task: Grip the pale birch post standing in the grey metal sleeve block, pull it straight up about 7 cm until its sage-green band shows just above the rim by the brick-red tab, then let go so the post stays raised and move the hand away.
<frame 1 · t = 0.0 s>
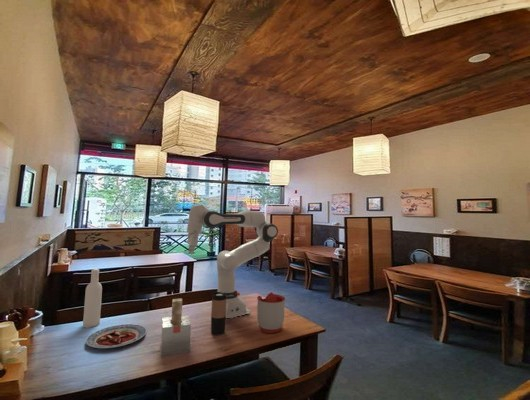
hand: (190, 252, 160), 39 cm above the table, tool pointing down, fingers open, 8 cm apart
sleeve block: (174, 347, 120), on the table
birch post: (176, 322, 121), point 11 cm above the table, slide at 0.0 cm
travel mug: (217, 332, 138), on the table
ceramic plate: (117, 339, 128), on the table
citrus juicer: (269, 329, 144), on the table
bottle: (91, 325, 143), on the table
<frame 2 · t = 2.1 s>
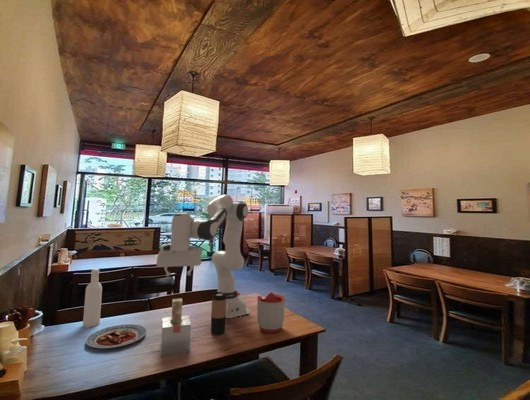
hand: (178, 275, 123), 33 cm above the table, tool pointing down, fingers open, 8 cm apart
nothing on the table moved.
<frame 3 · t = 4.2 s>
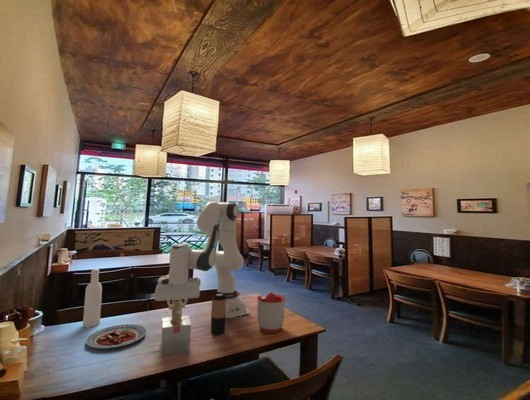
hand: (176, 308, 122), 18 cm above the table, tool pointing down, fingers closed on birch post, 4 cm apart
birch post: (176, 322, 121), point 12 cm above the table, slide at 0.0 cm, touching gripper
everything else where it was.
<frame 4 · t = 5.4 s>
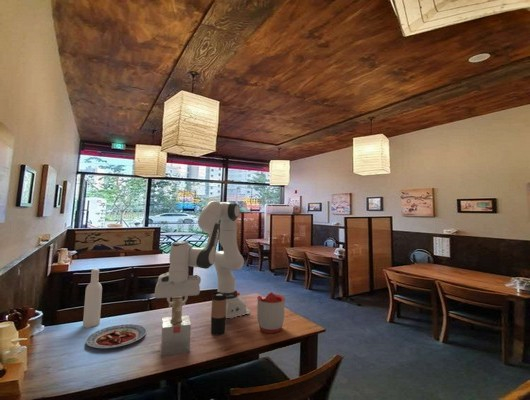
hand: (177, 306, 122), 19 cm above the table, tool pointing down, fingers closed on birch post, 4 cm apart
birch post: (176, 319, 121), point 13 cm above the table, slide at 1.1 cm, touching gripper
everything else where it was.
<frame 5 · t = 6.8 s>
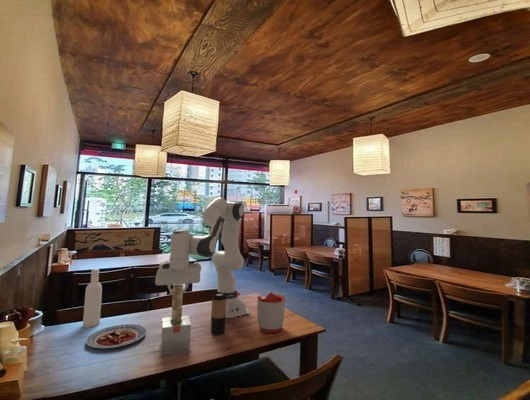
hand: (177, 293, 122), 25 cm above the table, tool pointing down, fingers closed on birch post, 4 cm apart
birch post: (177, 307, 122), point 18 cm above the table, slide at 6.8 cm, touching gripper
everything else where it was.
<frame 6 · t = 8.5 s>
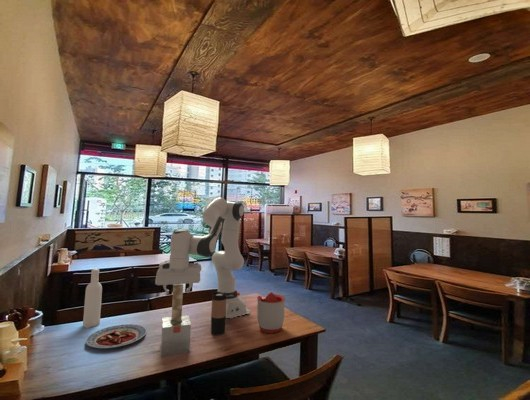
hand: (177, 293, 122), 25 cm above the table, tool pointing down, fingers open, 8 cm apart
birch post: (177, 306, 122), point 18 cm above the table, slide at 6.9 cm
everything else where it was.
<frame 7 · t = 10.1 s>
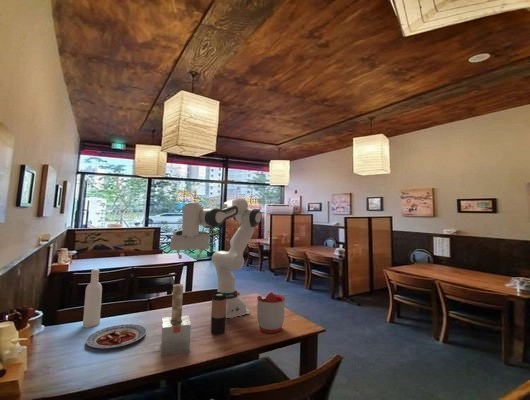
hand: (189, 258, 138), 39 cm above the table, tool pointing down, fingers open, 8 cm apart
nothing on the table moved.
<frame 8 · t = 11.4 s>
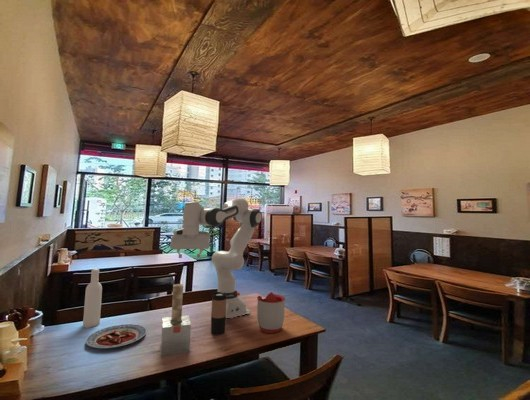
hand: (189, 257, 139), 39 cm above the table, tool pointing down, fingers open, 8 cm apart
nothing on the table moved.
at the end: birch post slide at 6.9 cm; the gripper is holding nothing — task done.
